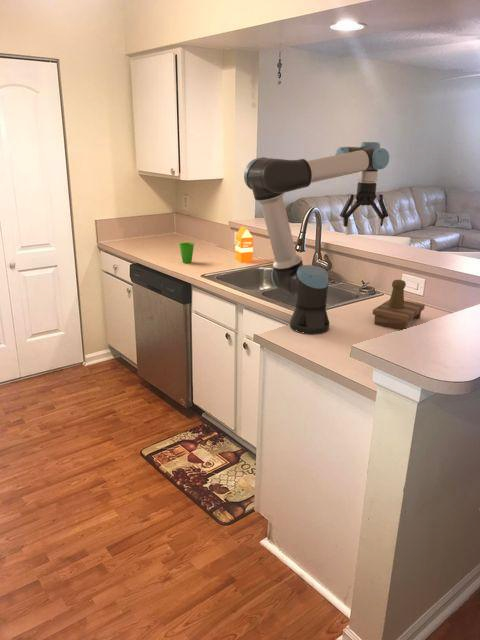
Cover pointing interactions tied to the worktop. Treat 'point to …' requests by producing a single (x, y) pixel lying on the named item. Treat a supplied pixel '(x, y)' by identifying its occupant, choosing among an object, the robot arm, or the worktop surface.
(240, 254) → the orange juice
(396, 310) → the walnut shelf
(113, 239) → the worktop surface
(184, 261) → the cup
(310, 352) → the worktop surface
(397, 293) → the cork
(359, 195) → the robot arm
